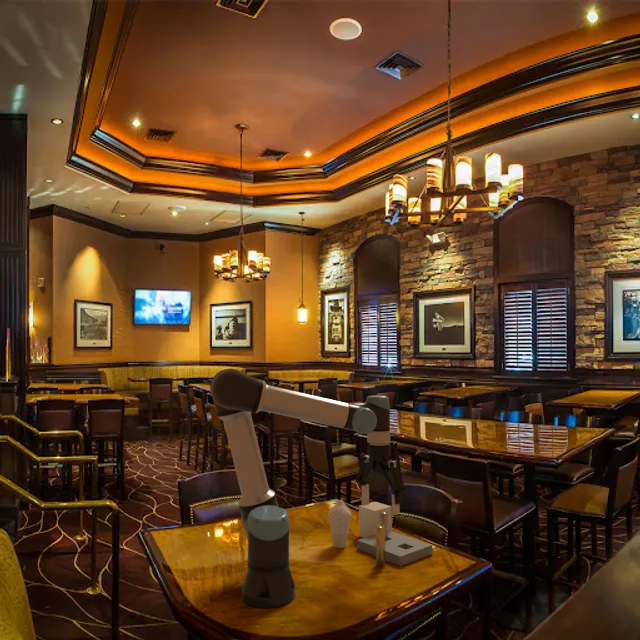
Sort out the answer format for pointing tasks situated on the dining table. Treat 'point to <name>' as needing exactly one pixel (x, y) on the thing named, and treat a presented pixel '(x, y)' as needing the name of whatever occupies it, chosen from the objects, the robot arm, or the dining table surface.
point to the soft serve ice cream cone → (339, 524)
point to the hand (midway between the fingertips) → (380, 509)
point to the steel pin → (384, 522)
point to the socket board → (397, 548)
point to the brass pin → (380, 545)
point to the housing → (372, 518)
